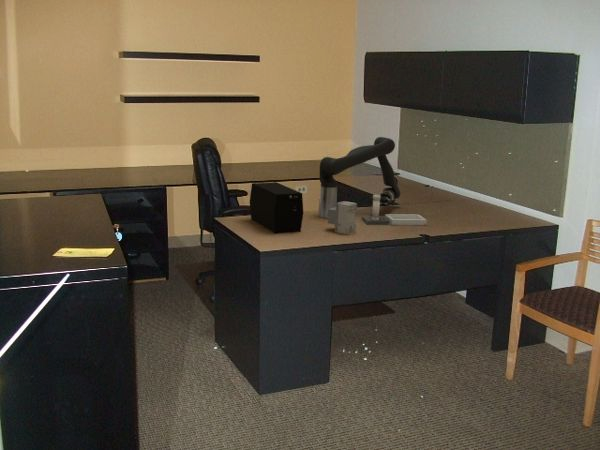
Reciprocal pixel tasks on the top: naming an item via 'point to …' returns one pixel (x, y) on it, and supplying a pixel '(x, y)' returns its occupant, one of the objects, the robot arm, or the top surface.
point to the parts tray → (405, 219)
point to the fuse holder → (369, 220)
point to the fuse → (376, 207)
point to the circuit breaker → (343, 217)
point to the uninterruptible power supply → (276, 207)
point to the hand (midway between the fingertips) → (380, 203)
